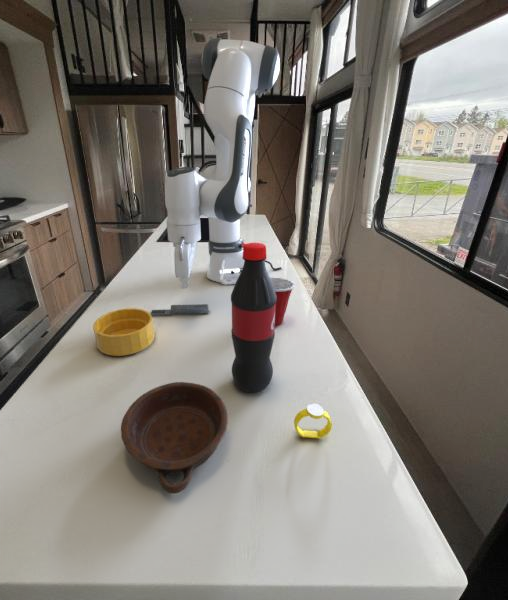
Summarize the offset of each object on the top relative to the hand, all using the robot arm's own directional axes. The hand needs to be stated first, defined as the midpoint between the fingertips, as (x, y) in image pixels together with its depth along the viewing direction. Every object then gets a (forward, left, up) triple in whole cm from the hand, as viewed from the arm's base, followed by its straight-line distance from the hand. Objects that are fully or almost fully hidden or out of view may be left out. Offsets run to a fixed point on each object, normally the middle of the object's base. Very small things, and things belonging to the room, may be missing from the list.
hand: (186, 281), depth 92 cm
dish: (-2, +46, -11) cm, 47 cm away
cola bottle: (-16, +32, -11) cm, 37 cm away
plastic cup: (-24, +6, -11) cm, 27 cm away
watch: (-25, +46, -11) cm, 53 cm away
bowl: (+15, +15, -11) cm, 23 cm away
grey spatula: (+3, 0, -11) cm, 11 cm away
